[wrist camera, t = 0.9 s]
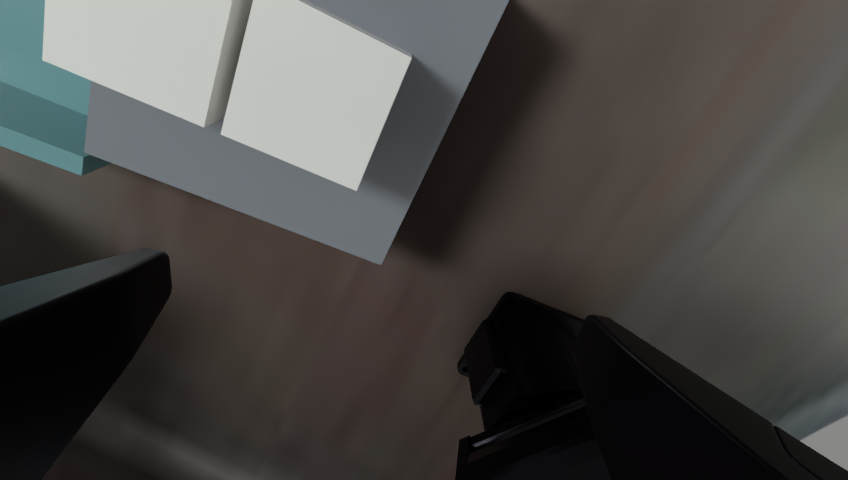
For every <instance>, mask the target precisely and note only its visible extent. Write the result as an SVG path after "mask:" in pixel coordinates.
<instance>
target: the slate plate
mask: <svg viewBox="0 0 848 480" xmlns="http://www.w3.org/2000/svg"><path fill="white" fill-rule="evenodd" d="M307 1H308V2H310V3H312V4H314V5H316V6H318V7H320V8H322V9H324V10H326V11H328V12H330V13H332V14H334V15H336V16H338V17H340V18H342V19H344V20H346V21H348V22H350V23H352V24H354V25H356V26H358V27H359V28H361V29H363V30H365V31H367V32H369V33H371V34H373V35H375V36H377V37H379V38H381V39H383V40H385V41H387V42H389V43H391V44H393V45H395V46H397V47H399V48H401V49H403V50H405V51H407V52H409V53H410V54H412V59H411V61H410V64H409V66H408V68H407V71H406V73H405V76H404V78H403V80H402V83H401V85H400V88H399V90H398V92H397V95H396V97H395V100H394V102H393V104H392V107H391V109H390V112H389V114H388V117H387V119H386V121H385V124H384V126H383V129H382V131H381V133H380V136H379V138H378V141H377V143H376V145H375V148H374V150H373V153H372V155H371V157H370V160H369V162H368V165H367V167H366V170H365V172H364V174H363V177H362V179H361V182H360V184H359V186H358V189H357V191H355V190H353V189H350V188H348V187H345V186H343V185H341V184H338V183H336V182H333V181H331V180H329V179H326V178H324V177H321V176H319V175H317V174H314V173H312V172H309V171H307V170H305V169H302V168H300V167H297V166H295V165H293V164H290V163H288V162H285V161H283V160H281V159H278V158H276V157H273V156H271V155H269V154H266V153H264V152H261V151H259V150H257V149H254V148H252V147H249V146H247V145H245V144H242V143H240V142H237V141H235V140H233V139H230V138H228V137H225V136H223V135H221V130H222V126H223V122H224V119H222V120H220V121H217V122H215V123H213V124H211V125H209V126H206V127H201V126H199V125H197V124H194V123H192V122H189V121H187V120H185V119H182V118H180V117H177V116H175V115H172V114H170V113H168V112H165V111H163V110H160V109H158V108H156V107H153V106H151V105H148V104H146V103H144V102H141V101H139V100H136V99H134V98H132V97H129V96H127V95H124V94H122V93H120V92H117V91H115V90H112V89H110V88H108V87H105V86H103V85H100V84H98V83H96V82H93V81H91V87H90V97H89V107H88V117H87V127H86V137H85V147H84V153H87V154H90V155H92V156H95V157H97V158H100V159H103V160H105V161H108V162H111V163H113V164H116V165H118V166H121V167H124V168H126V169H129V170H132V171H134V172H137V173H140V174H142V175H145V176H147V177H150V178H153V179H155V180H158V181H161V182H163V183H166V184H168V185H171V186H174V187H176V188H179V189H182V190H184V191H187V192H190V193H192V194H195V195H197V196H200V197H203V198H205V199H208V200H211V201H213V202H216V203H218V204H221V205H224V206H226V207H229V208H232V209H234V210H237V211H240V212H242V213H245V214H247V215H250V216H253V217H255V218H258V219H261V220H263V221H266V222H269V223H271V224H274V225H276V226H279V227H282V228H284V229H287V230H290V231H292V232H295V233H297V234H300V235H303V236H305V237H308V238H311V239H313V240H316V241H319V242H321V243H324V244H326V245H329V246H332V247H334V248H337V249H340V250H342V251H345V252H347V253H350V254H353V255H355V256H358V257H361V258H363V259H366V260H369V261H371V262H374V263H376V264H379V265H381V264H382V262H383V260H384V258H385V256H386V254H387V252H388V250H389V248H390V246H391V244H392V241H393V239H394V237H395V235H396V233H397V231H398V229H399V227H400V225H401V223H402V221H403V219H404V217H405V215H406V213H407V210H408V208H409V206H410V204H411V202H412V200H413V198H414V196H415V194H416V192H417V190H418V188H419V186H420V184H421V182H422V179H423V177H424V175H425V173H426V171H427V169H428V167H429V165H430V163H431V161H432V159H433V157H434V155H435V153H436V151H437V148H438V146H439V144H440V142H441V140H442V138H443V136H444V134H445V132H446V130H447V128H448V126H449V124H450V122H451V120H452V117H453V115H454V113H455V111H456V109H457V107H458V105H459V103H460V101H461V99H462V97H463V95H464V93H465V91H466V89H467V86H468V84H469V82H470V80H471V78H472V76H473V74H474V72H475V70H476V68H477V66H478V64H479V62H480V60H481V58H482V55H483V53H484V51H485V49H486V47H487V45H488V43H489V41H490V39H491V37H492V35H493V33H494V31H495V29H496V27H497V24H498V22H499V20H500V18H501V16H502V14H503V12H504V10H505V8H506V6H507V4H508V2H509V0H307Z"/></svg>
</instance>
